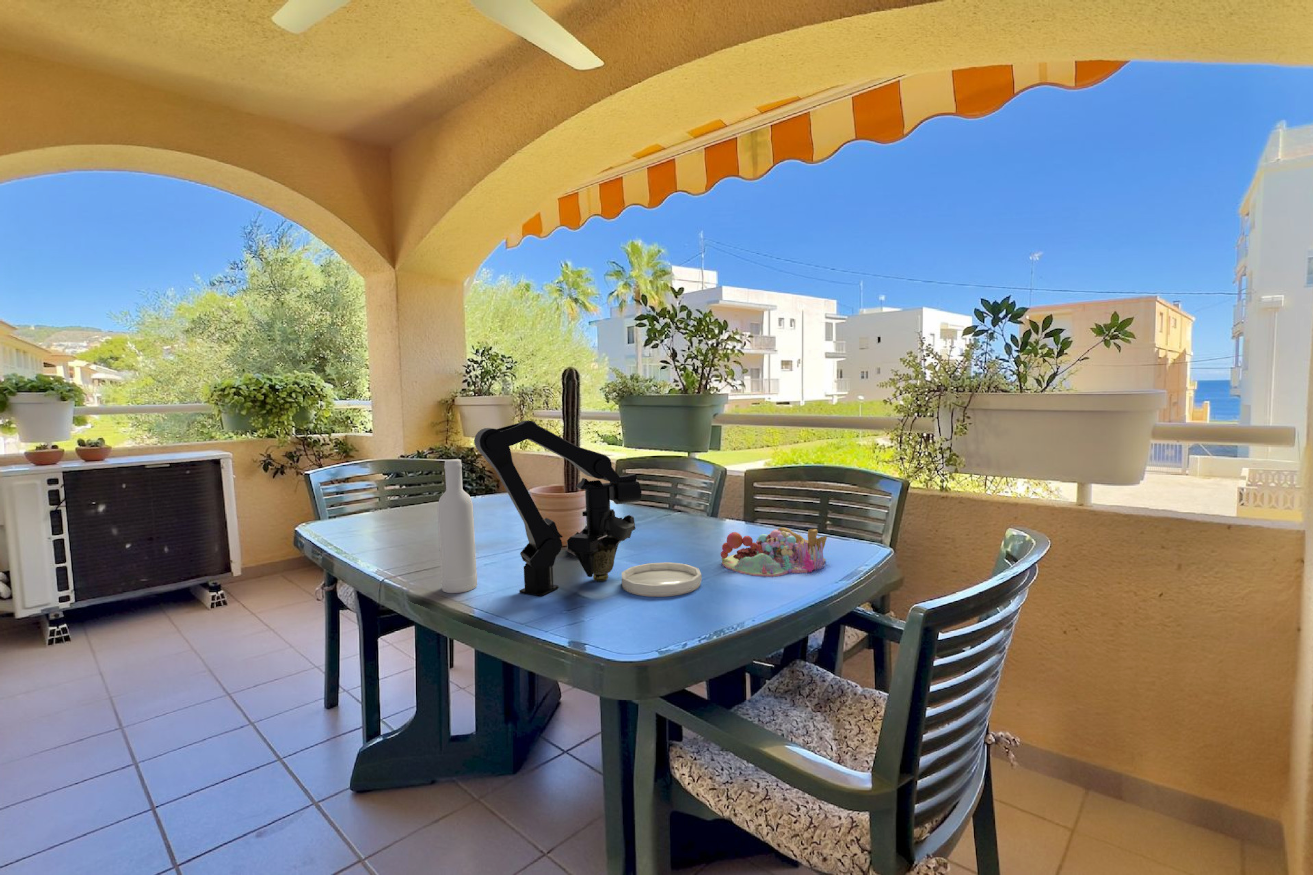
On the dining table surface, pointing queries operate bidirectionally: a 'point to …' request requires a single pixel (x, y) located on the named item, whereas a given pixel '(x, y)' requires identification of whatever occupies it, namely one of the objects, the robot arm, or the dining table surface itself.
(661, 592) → the dish
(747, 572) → the pastel sphere sculpture
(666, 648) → the dining table surface
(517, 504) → the robot arm
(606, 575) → the cup
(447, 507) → the bottle
